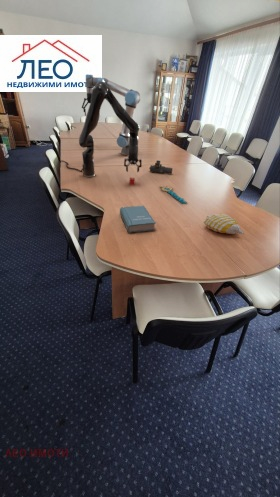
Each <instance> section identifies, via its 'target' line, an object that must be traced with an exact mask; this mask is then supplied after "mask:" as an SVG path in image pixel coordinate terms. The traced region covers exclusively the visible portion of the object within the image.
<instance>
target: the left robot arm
mask: <svg viewBox="0 0 280 497" xmlns="http://www.w3.org/2000/svg"><path fill="white" fill-rule="evenodd" d="M105 100H106V101H107V103H108V104H109V105H110V107H111V109H112V110H113V113H114V114H115V116H116V117H117V118H118V119H119V121H121V123H122V124H123V123H124V124H125V125H126V126H127V128H128V129H129V134H130V138H129V155H127V156H128V158H126V157H124V160H123V167H125V172H127V173H128V172H129V166H130V165H131V166H132V165H134V166H136V167H137V168H136V172H137V173H138V172H140V168H142V166H143V165H142V158H139V131H140V125H139V124H138V122H136V121H135V119H133V117H132V118H131V116H130V115H129V114H128V113H127V111H126V108H125V107H123V106H122V104H121V103H120V102H119V100H118V99H117V98H116V96H115V94H114V92H113V91H111V90H110V89H109V87H108V86H107V85H106V83H104V82H102V81H100V82H98V83H97V84H96V85H95V86H94V88H93V91H92V97H91V103H89V106H88V109H87V111H86V116H85V119H84V124H83V127H82V130H81V132H80V134H79V138H78V144H79V146H80V147H81V148H82V149H83V148H86V149H85V150H83V151H82V153H81V155H82V168H81V169H78V168H75V167H69V166H68V165H69V162H67V161H65V160H62V159H61V160H59V163H61V162H63V163H65V166H66V169H69V170H76V171H78V172H80V173H81V172H82V174H83V176H84V177H85V178H94V177H95V175H96V174H95V173H96V172H95V159H94V153H95V144H94V143H95V141H94V137H93V136H92V135H91V134H92V132H93V131H94V130H95V129H96V128H97V126H98V124H99V121H100V113H101V109H100V108H102V105H103V103H104V101H105ZM138 162H139V163H138Z"/></svg>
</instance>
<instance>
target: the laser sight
mask: <svg viewBox="0 0 280 497" xmlns="http://www.w3.org/2000/svg"><path fill="white" fill-rule="evenodd" d="M148 169H149V172H151V173H157V174H162V175H163V174H170V175H172V174H173V167H167V166H163V165H162V163H161V160H156V162H155V164H151V165H150V166H149V168H148Z"/></svg>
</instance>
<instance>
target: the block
mask: <svg viewBox="0 0 280 497" xmlns="http://www.w3.org/2000/svg"><path fill="white" fill-rule="evenodd" d="M135 180H136V178H135V177H129V185H130V186H135V184H136V181H135Z"/></svg>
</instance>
